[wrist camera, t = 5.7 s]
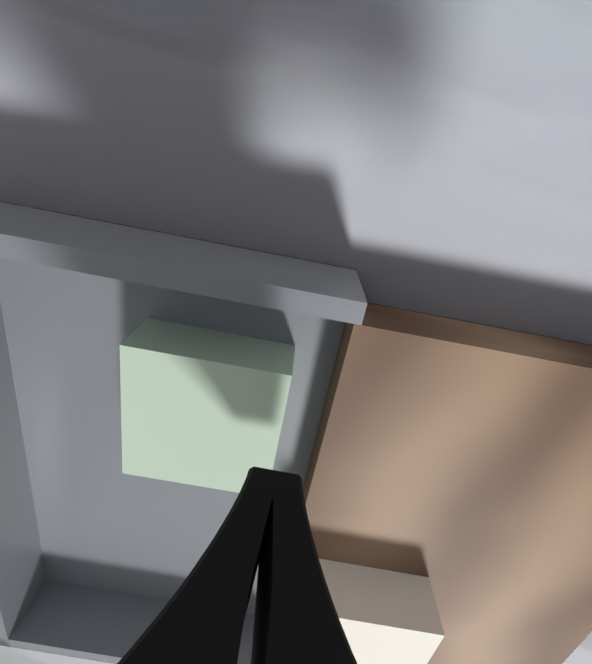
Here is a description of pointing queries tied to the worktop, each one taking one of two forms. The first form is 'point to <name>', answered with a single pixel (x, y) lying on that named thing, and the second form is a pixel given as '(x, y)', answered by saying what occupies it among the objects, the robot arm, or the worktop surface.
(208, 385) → the sage tile
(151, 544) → the box
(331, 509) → the walnut plate
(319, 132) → the worktop surface
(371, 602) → the cream tile
